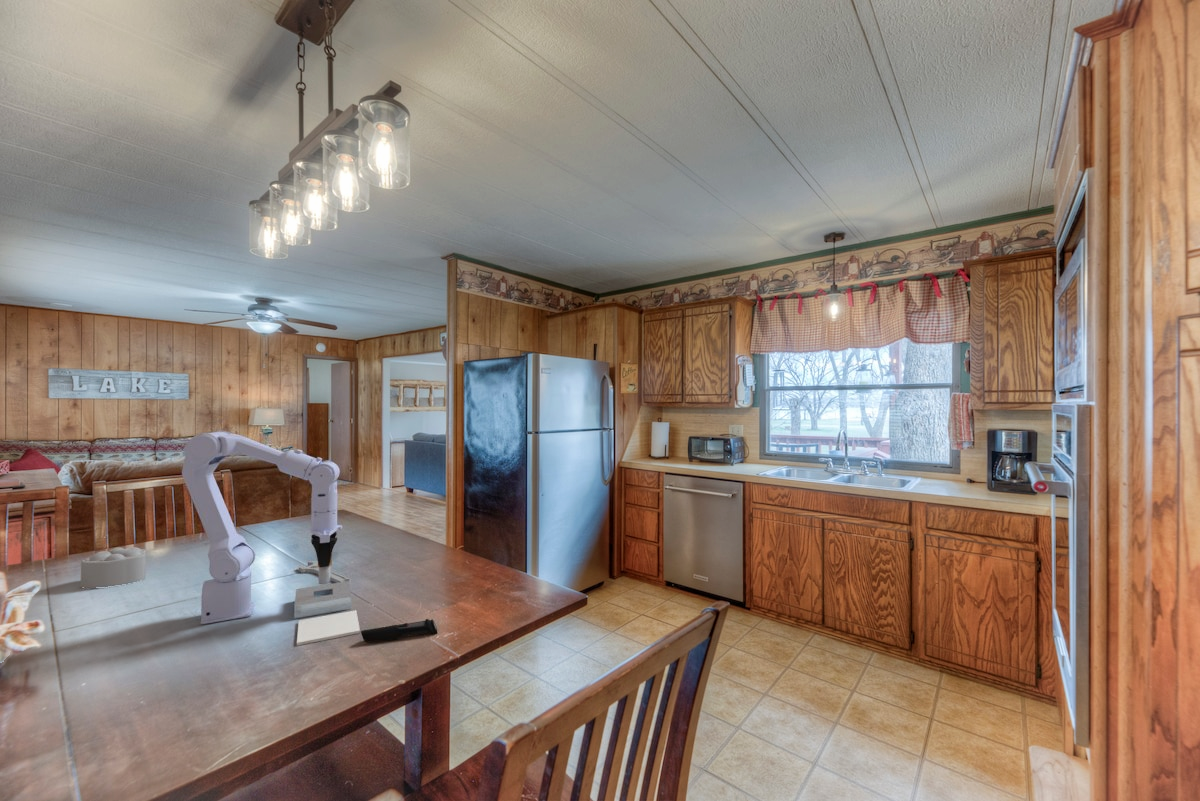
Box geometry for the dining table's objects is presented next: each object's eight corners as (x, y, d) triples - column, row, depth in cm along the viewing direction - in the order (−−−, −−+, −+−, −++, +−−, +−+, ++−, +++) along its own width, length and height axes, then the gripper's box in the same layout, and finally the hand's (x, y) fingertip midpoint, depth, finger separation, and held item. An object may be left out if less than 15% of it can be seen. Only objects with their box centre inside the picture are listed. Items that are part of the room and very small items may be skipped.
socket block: (294, 618, 117) (294, 606, 117) (296, 600, 128) (296, 589, 128) (351, 608, 123) (351, 596, 123) (348, 592, 134) (348, 581, 134)
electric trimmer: (361, 640, 108) (361, 626, 108) (436, 628, 114) (436, 614, 114) (360, 649, 105) (360, 634, 105) (437, 635, 110) (437, 621, 110)
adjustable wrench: (353, 585, 140) (353, 579, 140) (328, 592, 135) (328, 585, 135) (317, 565, 156) (317, 559, 156) (294, 570, 151) (294, 564, 151)
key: (317, 585, 123) (318, 551, 123) (317, 581, 126) (317, 547, 125) (331, 583, 124) (331, 549, 124) (331, 579, 127) (331, 546, 127)
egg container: (145, 581, 140) (145, 550, 140) (78, 593, 131) (78, 560, 131) (145, 571, 148) (145, 542, 148) (82, 582, 139) (82, 551, 139)
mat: (296, 645, 105) (296, 642, 105) (298, 623, 115) (298, 620, 115) (359, 633, 111) (359, 630, 111) (356, 612, 121) (356, 610, 121)
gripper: (343, 514, 121) (343, 570, 121) (341, 503, 133) (340, 554, 133) (310, 517, 117) (309, 575, 117) (310, 505, 130) (310, 558, 130)
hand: (323, 564), depth 125 cm, fingers closed on key, 3 cm apart
